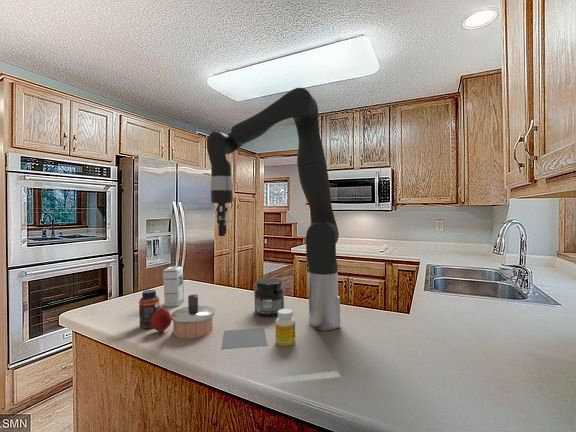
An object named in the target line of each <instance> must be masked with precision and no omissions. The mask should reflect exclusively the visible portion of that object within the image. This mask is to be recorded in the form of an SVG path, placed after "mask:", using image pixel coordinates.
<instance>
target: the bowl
mask: <svg viewBox="0 0 576 432" xmlns="http://www.w3.org/2000/svg"><path fill="white" fill-rule="evenodd" d="M213 319H214V316H213V317H212V318H210V319H208V320H205V321H202V322H197V323H177V322H174V321H172V322H173V335H174V336H175V337H177V338H180V339H197V338H201V337H204V336H207V335H209V334H210V333H212V332H213V329H214V320H213Z"/></svg>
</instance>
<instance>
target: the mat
mask: <svg viewBox="0 0 576 432" xmlns="http://www.w3.org/2000/svg"><path fill="white" fill-rule="evenodd" d="M267 341H268V339H267V336H266V332H265V328H264V327H257V328H243V329H232V330H223V335H222V343H221V350H230V349H231V350H232V349H242V348H244V349H245V348H254V347H255V348H256V347H266V346H268V342H267Z"/></svg>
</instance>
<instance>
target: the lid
mask: <svg viewBox="0 0 576 432" xmlns="http://www.w3.org/2000/svg"><path fill="white" fill-rule="evenodd" d="M187 299H188V300H187V303H188V305H187V306H185V307H180V308H179V309H176V310H174V311H173V312H172V313H170V315H171V322H173V321H174V322H177V323H197V322H202V321H205V320H208V319H210V318H212V317H213V318H214V316H215V313H216V312H215V311H216V310H215V308H213V307H212V306H209V305H199V295H198V294H195V293H194V294H190V295H188V296H187Z"/></svg>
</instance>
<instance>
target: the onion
mask: <svg viewBox="0 0 576 432" xmlns="http://www.w3.org/2000/svg"><path fill="white" fill-rule="evenodd" d="M171 324H172V319H171V313H170V312H169V310H167V309H165V308H163V307H162V306H161V305H159V307H158V310H157V311H156V312H155V313H154V314H153V315H152V317H151V325H152V327H153V328H152V329H154V330H155V331H157V332H159V333H164V332H165V331H166V330H168V328H169V327H170V325H171Z"/></svg>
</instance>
